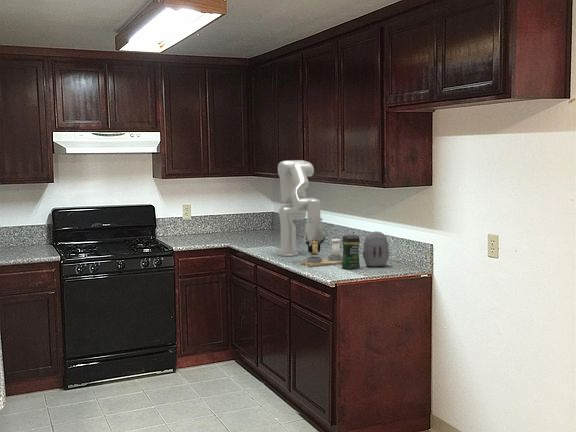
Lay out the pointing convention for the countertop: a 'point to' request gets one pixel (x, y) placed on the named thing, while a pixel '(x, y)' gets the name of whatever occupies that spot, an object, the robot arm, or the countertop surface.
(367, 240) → the grey rounded bag
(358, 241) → the coffee jar
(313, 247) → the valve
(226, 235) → the countertop surface
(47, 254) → the countertop surface
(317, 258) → the socket
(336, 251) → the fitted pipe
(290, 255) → the robot arm
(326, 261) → the board
